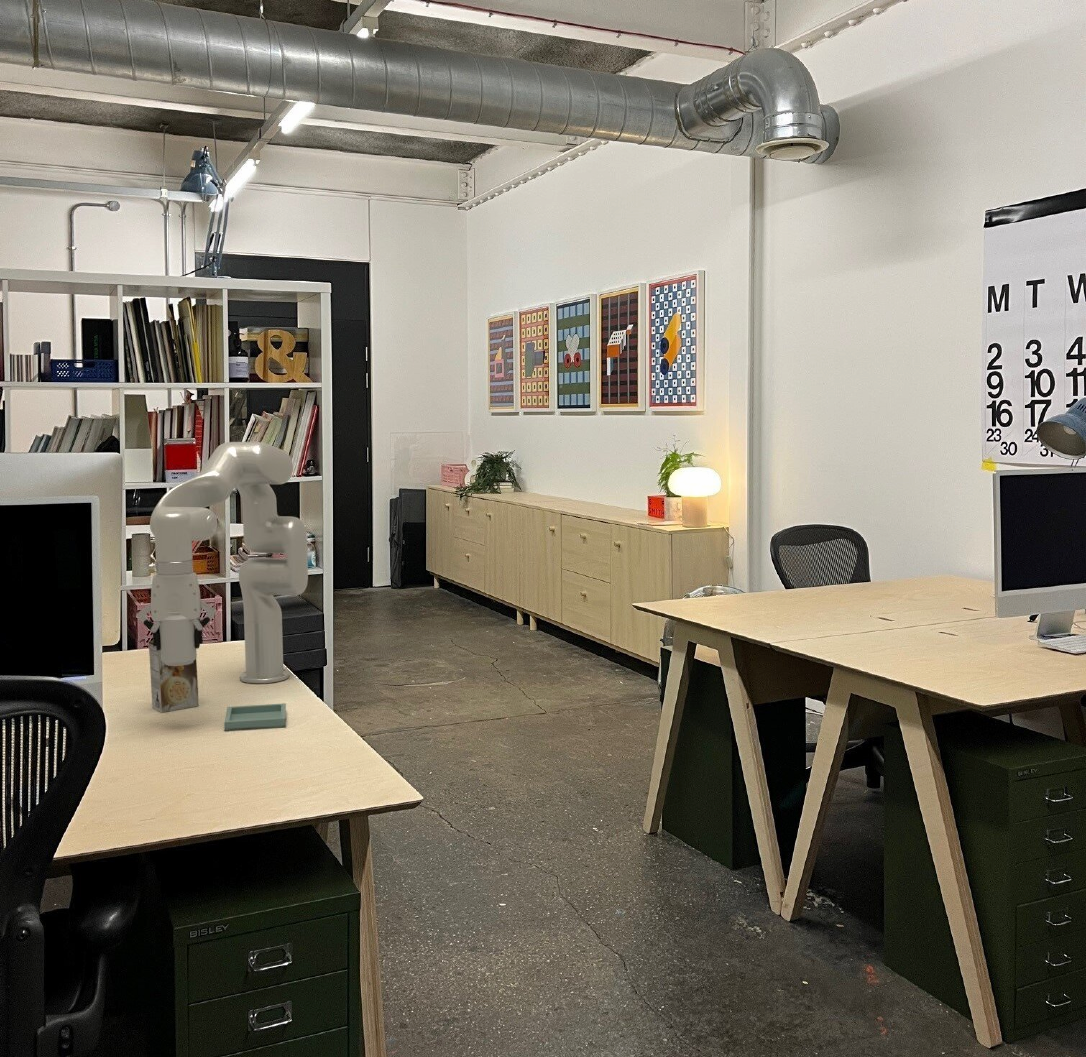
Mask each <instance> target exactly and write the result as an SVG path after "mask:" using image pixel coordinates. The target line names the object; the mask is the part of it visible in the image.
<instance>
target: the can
mask: <svg viewBox="0 0 1086 1057" xmlns="http://www.w3.org/2000/svg"><path fill="white" fill-rule="evenodd" d="M180 613H182V612H170V614H171V615H170V616H168V617H167V618H165V619H164V621H163V622H160V626H159V632H160V654H161V661H162V662H163V663H165V665H168V666H182V665H188V664H191V663H193V661H194V660H195V659H196V660H197V656H198V655H197V649H196V648H195V629H196V627H195V625H194V624H193V620H192V621H189V620H188V618H186V617H184V616H182V615H180Z"/></svg>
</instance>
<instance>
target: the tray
mask: <svg viewBox="0 0 1086 1057" xmlns="http://www.w3.org/2000/svg"><path fill="white" fill-rule="evenodd" d="M286 706H287V705H286V703H270V704H269V703H268V704H253V705H252V704H251V705H236V706H234V705H233V706H227V707H226V712H225V717H224V722H223V725H224V727H223V728H224V732H234V731H249V730H265V729H281V728H283V729H284V728H287V723H286V722H287V707H286Z"/></svg>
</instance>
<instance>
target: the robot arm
mask: <svg viewBox="0 0 1086 1057" xmlns="http://www.w3.org/2000/svg"><path fill="white" fill-rule="evenodd" d="M293 467H294V466H293V461H292V458H291V455H290V454H288V452H287V451H285V450H284V449H281V448H279V447H276V446H273V445H271V444H270V443H266V442H261V441H260V442H259V441H230V442H228V441H227V442H224V443H221V444H220V445H218V446H216V448H215V449H214V451H213V453H212V454H211V455H210V457H209V458H208V459H207V462H206V463H205V465H204V466H203V467H202V469H201V470H200V472H199V474H197V476H194V477H192V478H189V479H188V480H185V481H184V482H182V483H181V484H178V485H177V486H175V487H173V488H171V489H169V490H168V491H167V492H166V493H165V494H164V495H163V496H162V497H160V498H161V499H160V500H159V501H158V503H157V504H156V506H155V507H154V508H153V511H152V513H151V516H150V521H149V528H150V531H151V534H152V535H153V536H154V543H155V544H154V545H155V546H154V547H155V548H154V549H155V562H153V563H149V565H148V569H149V571H154V572H155V573H156V574H154V575H152V580H151V588H150V589H151V590H150V603H149V604H148V605H147V606H145V607H143V608H142V609H141V610H140V611H139V612H137V614H136V617H137V618H138V620H139V621H140V622H141V623H142V624H143V626H145V627H146V628H147V629H149V631H151V633H152V641H153V646H156V650H157V651H159V650H160V632H159V626H160V622H163V621H164V619H165V618H167V617H168V616H170V615H171V614H170V612H182V613H180V615H182V616H184V617H186V618H188V620H189V621H192V620H193V624H194V625H195V648H196V650H197V649H200V645H202V644H203V643H204V642H203V629H204V628H205V627H206V626H207V625H208V623H209V622H210V621H211V620H212V619H213V617H214V616H215V615H216V613H217V610H216V609H215V608H214V607H212V606H211V605H209V604H208V603H206V602H205V601H203V600H202V599H201V590H200V585H199V580H198V575H197V572H194V564H193V563H194V561H193V542H204V541H207V540H210V539H211V538H212V537H214V535H215V533H216V532H217V530H218V518H217V516H216V514H215V513H214V512H213V511H212V510H211V509H209V508H207V507H211V506H215V505H216V504H220V503H222V502H224V501H226V500H227V499H228V498H229V497H231V494H232V493H233V491H234V489H235V488H236V490H237V491H238V492H239V495H240V497H241V504H242V528H243V541H244V546H245V549H247V550H248V551H249V552H252V553H257V554H258V553H260V554H284V556H285V557H283V558H282V557H281V558H280V557H279V558H278V557H277V558H276V557H254V558H249V559H247V560H245V561H244V562H243V563H242V564H241V565H240V567H239V569H238V582H239V586H240V589H241V596H242V603H243V625H244V653H245V654H244V659H245V661H244V662H245V671H244V672H241V673H240V674H239V680H240V681H241V682H243V683H248V684H270V683H276V682H277V683H278V682H282V681H285V680H287V679H289V677H290V671H288V670H287V669H284V649H283V648H284V645H283V642H284V640H283V613H282V608H281V605H280V604H279V602H278V601H277V599H276V598H275V596H300V595H302V594H303V593H304V592H305V591H306V589H307V587H308V582H309V565H308V564H309V563H308V561H309V560H308V536H307V535H308V534H307V530H306V526H305V524H304V522H303V521H302V520H301V519H300V518H298V517H296V516H288V515H287V516H281V515H278V511H277V508H278V507H277V497H276V496H277V495H276V494H275V492H274V490H273V488H272V487H271V486H270V485H283V484H284V485H285V484H286V483H287V482H288V481H289V480H290V479H291V477H292V476H293V475H292V474H293V471H294V468H293ZM202 610H204V612H207V614H206V615H205V616H204V618H202V620H201V619H200V616H201V614H202ZM148 613H150V615H151V619H152V620H151V619H149V618H148V617H147V614H148ZM153 621H154V622H153Z"/></svg>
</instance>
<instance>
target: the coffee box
mask: <svg viewBox="0 0 1086 1057" xmlns="http://www.w3.org/2000/svg"><path fill="white" fill-rule="evenodd" d="M148 652H149V670H150V688H151V689H150V690H151V691H150V692H151V693H150V694H151V707H152V708H153V709H155V711H159V713H166V712H173V711H178V710H183V709H189V708H193V707H194V708H195V707H199V706H200V702H199V701H200V700H199V686H198V685H199V684H198V683H199V682H198V666H197V665H198V663H197V662H198V661H197V658H196V659H195V660H194V661H193V663H191V664H188V665H182V666H168V665H165V663H163V662H162V661H161V654H160V650H159V651H157V650H156V646H153V640H149V641H148Z"/></svg>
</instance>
